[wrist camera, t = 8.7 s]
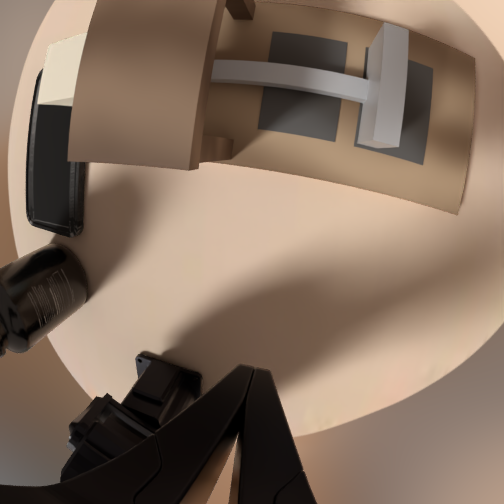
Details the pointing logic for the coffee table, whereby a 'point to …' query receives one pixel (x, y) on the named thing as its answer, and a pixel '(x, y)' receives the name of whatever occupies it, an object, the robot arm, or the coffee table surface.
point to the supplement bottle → (38, 295)
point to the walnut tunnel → (149, 83)
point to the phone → (52, 171)
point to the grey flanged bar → (343, 84)
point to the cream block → (61, 71)
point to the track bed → (344, 106)
